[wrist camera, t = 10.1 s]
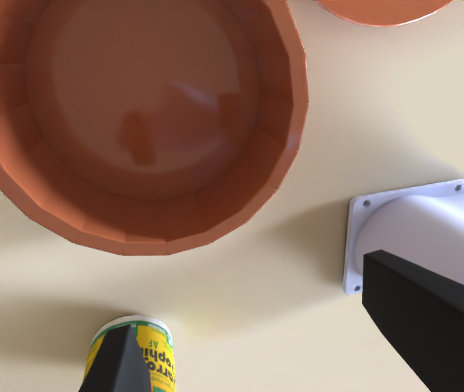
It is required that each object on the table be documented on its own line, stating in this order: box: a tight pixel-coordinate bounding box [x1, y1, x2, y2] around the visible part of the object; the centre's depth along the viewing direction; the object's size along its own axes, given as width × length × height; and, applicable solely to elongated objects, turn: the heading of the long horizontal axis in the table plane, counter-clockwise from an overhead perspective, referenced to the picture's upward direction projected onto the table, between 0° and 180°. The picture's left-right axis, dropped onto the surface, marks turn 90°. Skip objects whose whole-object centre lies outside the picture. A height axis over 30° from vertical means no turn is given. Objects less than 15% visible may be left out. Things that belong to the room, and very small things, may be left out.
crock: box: [0, 0, 309, 256], centre depth 14 cm, size 12×12×5 cm
